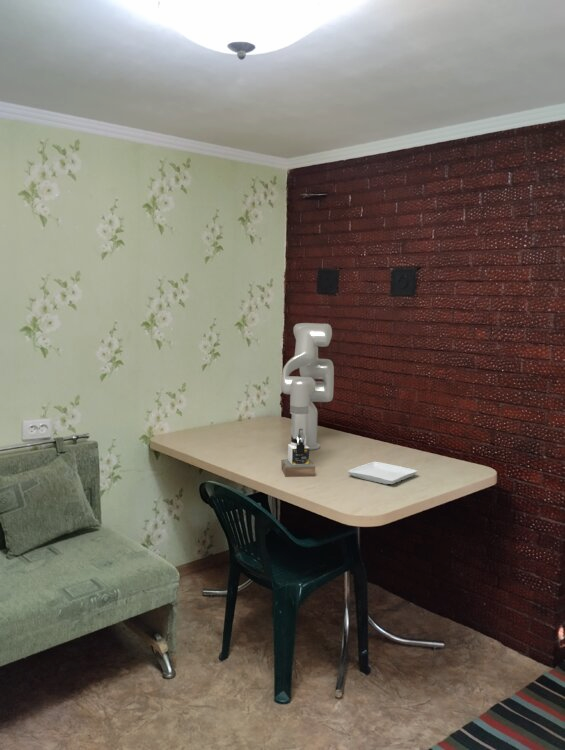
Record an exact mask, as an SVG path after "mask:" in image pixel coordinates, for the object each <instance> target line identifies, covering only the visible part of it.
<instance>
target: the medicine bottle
mask: <svg viewBox="0 0 565 750" xmlns="http://www.w3.org/2000/svg"><path fill="white" fill-rule="evenodd" d="M290 436H291V439H290V441H291V442H290V443H288V444H287V459H288V461H289V462H290V463H291V464H292V465H306V464H309V460H310V450H309V447H308V446H307V445H305V444H306V437H305V439H304V445H305V450H304V455H297V454H296V445H297V438H295V439H293V437H292V435H291V434H290Z"/></svg>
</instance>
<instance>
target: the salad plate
mask: <svg viewBox="0 0 565 750" xmlns="http://www.w3.org/2000/svg"><path fill="white" fill-rule="evenodd" d="M418 471H419V470H417V469H413V468H408V467H404V466H400V465H395V464H391V463H385V462H379V461H372V462H368V463H365V464H362V465H358V466H356V467H354V468H351V469H348V470H347V473H348V474H349V475H350V476H353V477H355V478H358V479H361V480H363V481H369V482H372V481H373V483H377V482H378V484H381V483H383V484H382V485H387V484H391V485H394V484H396V482H397V483H399V482H402V481H404V480H406V479H408V478H411V477H413V476H415V475H416V474H417V473H418ZM401 480H402V481H401Z"/></svg>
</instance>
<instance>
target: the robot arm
mask: <svg viewBox="0 0 565 750" xmlns="http://www.w3.org/2000/svg"><path fill="white" fill-rule="evenodd" d="M293 335H294V338H295V349H294V356H292V357H290V359H289V360H288V361H287V362H286V364H285V365H284V366H283V369H282V373H281V380H280V381H281V382H280V390H281V392H282V393H283V394H285V395H290V396H289V401H290V403H289V405H290V406H289V408H290V409H289V414H291V420H290V421H291V422H290V436H291V435H292V437H293V439H295V438H297V445H296V454H297V455H304V450H305V445H307V446H308V447H309V451H314V450H319V448H320V447H321V444H320V443H319V442H318V415H319V413H318V409H317V407H316V405H315V404H314V403H316V402H318V403H328V402H329V403H330V402H331V401H332V400H333V398H334V384H335V381H334V380H335V379H334V376H335V372H334V370H335V367H334V363H333V361H332V360H331V359H328V358H319V347H328V346H330V345H329V344H330V343H331V340H332V336H333V330H332V326H331V324H329V323H314V322H311V323H310V322H301V323H296V324H295V325H294V326H293ZM298 369H299V375H300V376H297V375H296V376H294V375H293V376H292V375H291V374H292V372H293V371H296V370H298ZM290 375H291V376H290ZM316 380H322V381H316ZM305 437H306V444H305V445H304V439H305Z"/></svg>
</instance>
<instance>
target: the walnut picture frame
mask: <svg viewBox="0 0 565 750" xmlns="http://www.w3.org/2000/svg"><path fill="white" fill-rule="evenodd" d="M280 466H281V468H280V469H281V471H282V473H283V474H284V477H285V478H288V477H289V478H291V477H292V478H293V477H294V478H296V477H297V478H298V477H316V467H315V465H314V463H313V462H312V461H311V459H309V464H306V465H292V464H291V463H290V462H289V461H288V458H287V459H281V465H280Z"/></svg>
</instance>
